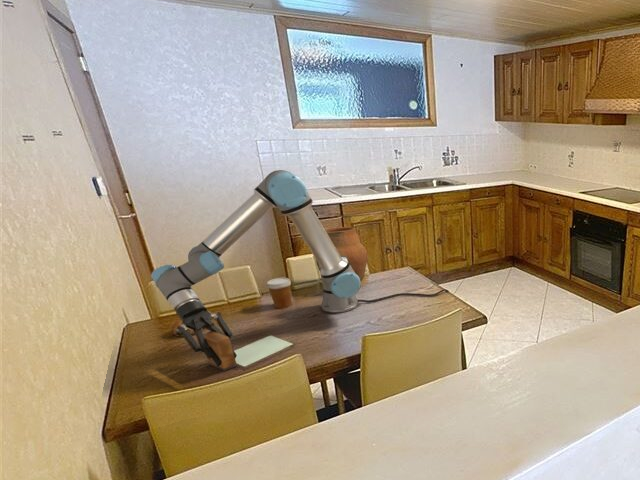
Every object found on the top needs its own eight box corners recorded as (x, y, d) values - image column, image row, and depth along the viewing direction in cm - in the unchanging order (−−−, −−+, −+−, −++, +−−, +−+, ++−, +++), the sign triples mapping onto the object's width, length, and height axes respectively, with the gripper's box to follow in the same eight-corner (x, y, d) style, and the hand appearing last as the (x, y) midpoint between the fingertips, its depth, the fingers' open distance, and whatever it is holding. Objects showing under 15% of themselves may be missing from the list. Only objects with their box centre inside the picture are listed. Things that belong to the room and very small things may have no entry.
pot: (365, 274, 236) (358, 220, 225) (376, 288, 217) (368, 230, 206) (317, 281, 223) (307, 226, 213) (324, 297, 205) (314, 236, 194)
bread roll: (208, 337, 174) (212, 318, 174) (181, 338, 164) (185, 317, 164) (191, 333, 177) (195, 314, 177) (164, 334, 167) (168, 313, 167)
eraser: (221, 358, 150) (212, 330, 146) (237, 365, 146) (228, 337, 142) (208, 363, 147) (199, 335, 143) (224, 371, 142) (215, 342, 138)
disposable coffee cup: (284, 310, 190) (279, 285, 186) (266, 308, 192) (260, 283, 188) (299, 302, 199) (295, 278, 195) (282, 300, 201) (277, 276, 196)
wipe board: (271, 337, 167) (270, 335, 166) (294, 346, 161) (293, 343, 160) (221, 359, 152) (221, 356, 152) (245, 369, 146) (244, 366, 145)
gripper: (212, 302, 154) (250, 354, 152) (156, 320, 140) (196, 377, 138) (217, 291, 150) (256, 344, 148) (159, 309, 135) (201, 368, 134)
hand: (227, 360), depth 143 cm, fingers closed on eraser, 4 cm apart
